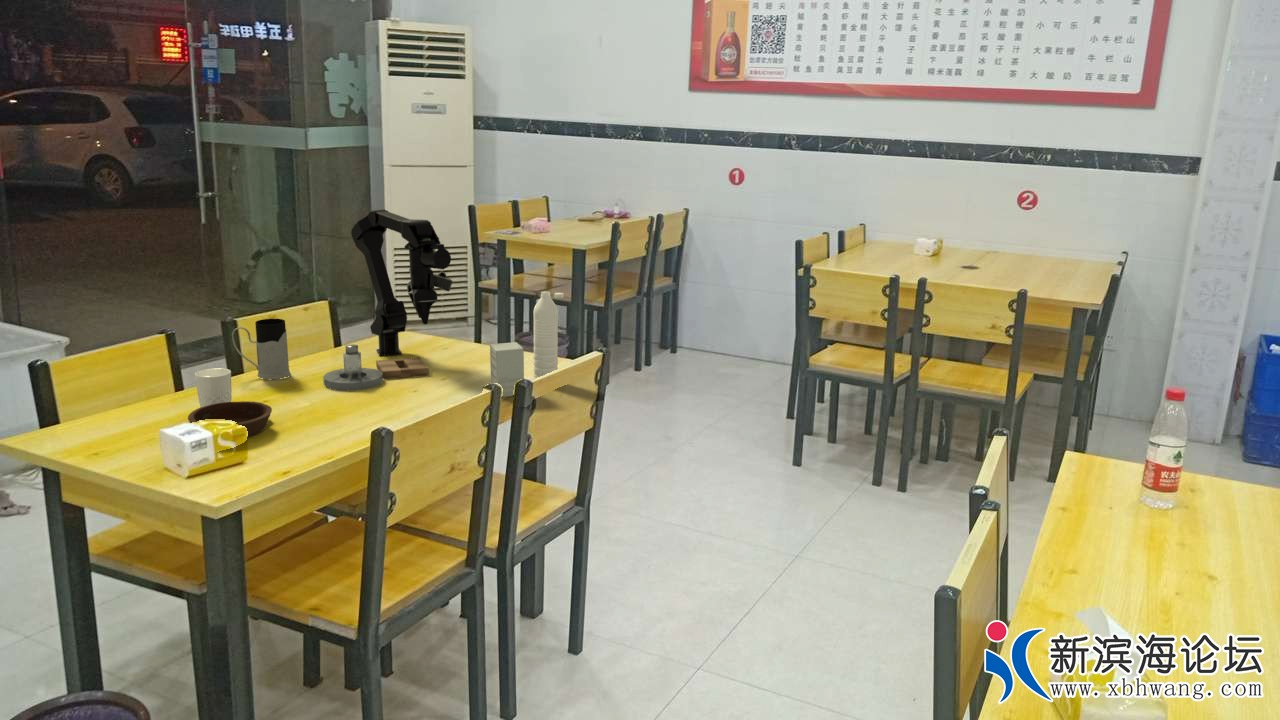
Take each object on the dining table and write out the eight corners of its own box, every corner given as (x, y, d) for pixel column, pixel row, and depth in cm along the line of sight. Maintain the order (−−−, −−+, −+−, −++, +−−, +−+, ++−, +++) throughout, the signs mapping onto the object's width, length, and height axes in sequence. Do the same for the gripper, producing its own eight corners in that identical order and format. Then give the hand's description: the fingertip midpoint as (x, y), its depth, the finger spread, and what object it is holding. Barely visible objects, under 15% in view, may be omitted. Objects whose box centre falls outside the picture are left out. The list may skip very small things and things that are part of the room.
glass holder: (289, 379, 273) (286, 324, 269) (233, 381, 269) (228, 326, 265) (292, 370, 281) (288, 317, 277) (237, 373, 277) (233, 319, 274)
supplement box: (517, 387, 270) (517, 341, 267) (524, 395, 263) (524, 348, 260) (490, 390, 267) (489, 343, 264) (496, 398, 261) (495, 350, 257)
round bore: (321, 377, 275) (320, 370, 274) (377, 372, 281) (377, 365, 280) (327, 392, 262) (326, 385, 261) (386, 387, 267) (386, 380, 267)
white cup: (217, 419, 239) (214, 378, 237) (191, 415, 242) (187, 374, 239) (241, 410, 246) (238, 370, 244) (215, 406, 249) (211, 366, 246)
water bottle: (528, 383, 274) (528, 292, 268) (542, 378, 279) (542, 288, 273) (555, 388, 270) (555, 295, 263) (569, 383, 275) (569, 292, 269)
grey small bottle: (353, 379, 274) (352, 343, 272) (365, 381, 272) (364, 345, 269) (341, 383, 270) (339, 346, 268) (353, 385, 268) (351, 349, 266)
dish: (164, 442, 224) (162, 421, 223) (235, 414, 244) (233, 394, 243) (228, 453, 218) (226, 431, 217) (295, 423, 238) (294, 403, 237)
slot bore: (376, 367, 286) (376, 360, 285) (419, 364, 290) (419, 357, 290) (383, 378, 275) (383, 371, 275) (427, 375, 280) (427, 368, 279)
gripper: (454, 269, 277) (457, 325, 281) (444, 260, 295) (447, 313, 298) (413, 271, 274) (416, 328, 278) (405, 262, 291) (408, 315, 295)
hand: (423, 321), depth 287 cm, fingers open, 9 cm apart
